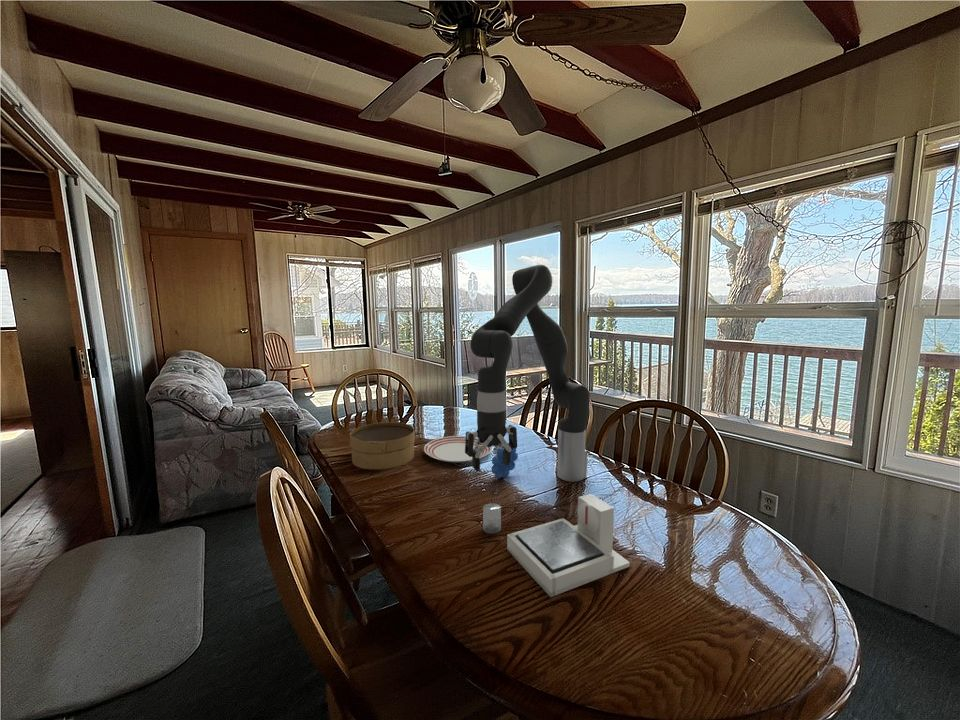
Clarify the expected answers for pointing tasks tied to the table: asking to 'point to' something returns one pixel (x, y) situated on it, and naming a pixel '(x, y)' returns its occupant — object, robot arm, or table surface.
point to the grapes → (498, 465)
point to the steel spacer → (491, 518)
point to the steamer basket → (382, 445)
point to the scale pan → (558, 546)
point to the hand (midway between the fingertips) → (491, 467)
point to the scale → (594, 528)
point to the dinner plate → (451, 449)
